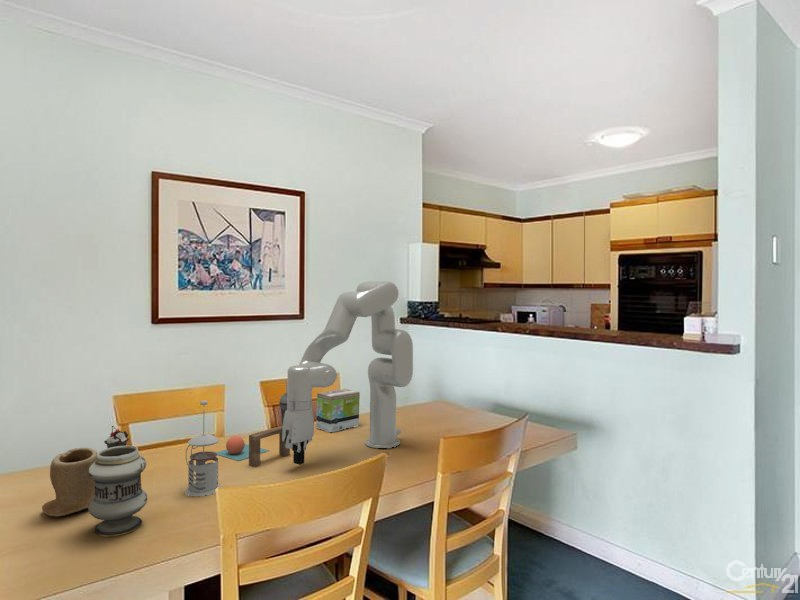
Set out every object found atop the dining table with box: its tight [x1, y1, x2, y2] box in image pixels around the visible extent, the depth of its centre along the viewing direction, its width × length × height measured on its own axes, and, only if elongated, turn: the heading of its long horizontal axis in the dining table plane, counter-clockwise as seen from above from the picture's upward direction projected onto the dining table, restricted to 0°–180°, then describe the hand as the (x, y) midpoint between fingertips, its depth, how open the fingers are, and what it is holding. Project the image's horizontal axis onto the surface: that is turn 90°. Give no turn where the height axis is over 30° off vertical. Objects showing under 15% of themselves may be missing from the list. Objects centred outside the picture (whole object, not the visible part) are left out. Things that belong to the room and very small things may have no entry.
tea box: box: [315, 388, 361, 433], centre depth 208 cm, size 15×10×15 cm
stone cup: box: [41, 447, 98, 517], centre depth 128 cm, size 15×12×15 cm
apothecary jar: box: [87, 445, 148, 538], centre depth 118 cm, size 12×12×18 cm
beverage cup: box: [279, 380, 287, 426], centre depth 201 cm, size 7×7×20 cm
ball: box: [225, 435, 245, 454], centre depth 173 cm, size 6×6×6 cm
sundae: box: [104, 425, 130, 449], centre depth 153 cm, size 7×7×15 cm
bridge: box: [248, 425, 291, 468], centre depth 167 cm, size 3×15×10 cm, turn 147°
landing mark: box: [216, 444, 270, 462], centre depth 174 cm, size 13×13×1 cm
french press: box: [184, 399, 222, 497], centre depth 141 cm, size 10×12×25 cm
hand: (298, 463), depth 160 cm, fingers closed
